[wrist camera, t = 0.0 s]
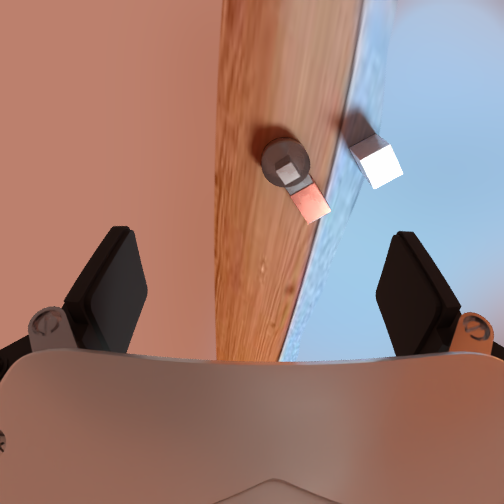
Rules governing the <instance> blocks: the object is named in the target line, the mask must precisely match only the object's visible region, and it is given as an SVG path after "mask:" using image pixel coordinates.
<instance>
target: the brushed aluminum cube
mask: <svg viewBox="0 0 504 504" xmlns="http://www.w3.org/2000/svg"><path fill="white" fill-rule="evenodd" d="M349 149H350V151H351V153H352V155H353V157H354V158H355V160H356V162H357V164H358V166H359V168H360V170H361V172H362V174H363V175H364V177H365V178H366V179H367V180H368V182H369V183H370V184H371V186H372V187H373V188H374V189H375V188H377V187H379V186H381V185H383V184H385V183H387V182H389V181H390V180H392V179H394V178H396V177H398V176H400V175H401V174H403V173H402V170H401V168H400V165H399V163H398V161H397V158H396V156H395V154H394V151H393V149H392V147H391V145H390V144H389V143H388V142H387V141H385V140H384V139H383V138H381V137H380V136H379V135H377V134H374V135H372V136H370V137H369V138H367V139H365V140H363V141H361V142H359V143H357V144H356V145H354V146H352V147H350V148H349Z"/></svg>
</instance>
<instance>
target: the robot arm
mask: <svg viewBox="0 0 504 504" xmlns="http://www.w3.org/2000/svg"><path fill="white" fill-rule="evenodd" d="M146 297H147V285H146V280H145V276H144V272H143V269H142V265H141V261H140V256H139V251H138V247H137V243H136V238H135V234H134V231H133V230H130V229H129V227H127V226H113V227H112V228H111V229H110V231H109V232H108V234H107V235H106V236H105V238H104V239H103V241H102V242H101V244H100V245H99V246H98V248H97V249H96V251H95V252H94V254H93V255H92V257H91V258H90V260H89V262H88V263H87V264H86V266H85V268H84V269H83V271H82V272H81V274H80V275H79V277H78V278H77V280H76V282H75V283H74V285H73V287H72V288H71V290H70V291H69V293H68V295H67V297H66V298H65V300H64V302H65V303H64V305H63V307H62V308H60V307H55V306H54V307H47V308H44V309H42V310H40V311H38V312H37V313H36V314H35V315H34V316H33V317H32V319H31V320H30V322H29V325H28V333H29V335H27V336H25V337H23V338H21V339H20V340H18V341H16V342H14V343H12V344H10V345H9V346H7V347H5V348H3V349H1V350H0V504H504V347H502V346H501V345H499V344H497V343H496V342H494V341H493V339H494V331H493V328H492V326H491V325H490V323H489V322H488V321H487V320H486V319H485V318H484V317H482V316H481V315H479V314H476V313H472V312H467V313H464V314H463V315H462V314H461V313H460V308H461V305H460V303H459V302H458V300H457V298H456V296H455V295H454V293H453V291H452V290H451V288H450V286H449V285H448V283H447V282H446V280H445V278H444V277H443V275H442V274H441V272H440V270H439V269H438V268H437V266H436V264H435V263H434V261H433V260H432V258H431V257H430V255H429V254H428V252H427V251H426V250H425V248H424V247H423V245H422V243H421V242H420V241H419V239H418V238H417V236H416V235H415V234H414V232H405V231H399V232H398V233H397V234H396V235H394V236H393V237H392V240H391V243H390V247H389V250H388V254H387V257H386V261H385V264H384V267H383V271H382V274H381V277H380V280H379V283H378V287H377V290H376V301H377V303H378V306H379V309H380V311H381V314H382V317H383V320H384V322H385V325H386V328H387V330H388V334H389V337H390V339H391V342H392V345H393V348H394V351H395V354H396V357H385V358H373V359H358V360H339V361H314V362H313V361H311V362H245V361H217V360H197V359H181V358H169V357H157V356H147V355H136V354H126V352H127V350H128V347H129V343H130V341H131V338H132V335H133V332H134V330H135V327H136V324H137V321H138V318H139V316H140V313H141V310H142V308H143V305H144V302H145V300H146Z"/></svg>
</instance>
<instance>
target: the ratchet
mask: <svg viewBox="0 0 504 504" xmlns="http://www.w3.org/2000/svg"><path fill="white" fill-rule="evenodd" d="M309 170H310V159H309V156H308V154H307V152H306V150H305V148H304V147H303V145H302V144H301V143H299V142H298V141H296V140H294V139H292V138H287V137H283V138H277V139H275V140H273V141H271V142H270V143H269V144H268V145H267V146H266V147H265V148H264V150H263V153H262V171H263V174H264V176H265V177H266V179H267V180H268V181H269V182H271V183H272V184H274V185H276V186H279V187H285V188H286V189H287V191H288V192H289V194H290V197H291V198H292V200H293V201H294V203H295V204H296V206H297V207H298V209H299V210H300V212H301V213H302V215H303V217H304V218H305V220H306V221H307V223H311V222H313V221H315V220H317V219H319V218H320V217H322V216H324V215H326V214H328V213H330V212H331V210H330V207H329V205H328V203H327V201H326V200H325V198H324V196H323V194H322V193H321V191H320V189H319V188H318V186H317V185H316V183H315V181H314V180H313V178H312V177H311V176H310V174H309Z"/></svg>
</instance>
